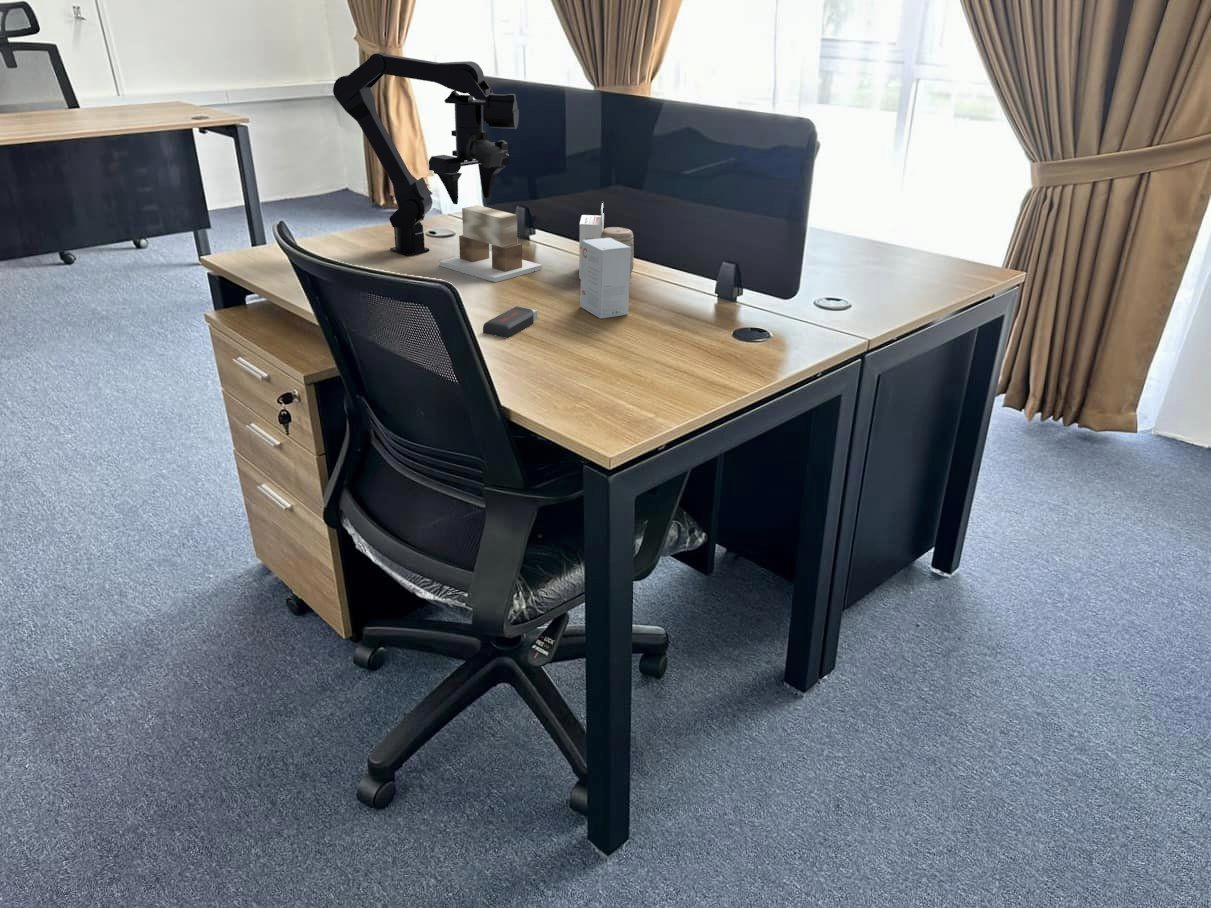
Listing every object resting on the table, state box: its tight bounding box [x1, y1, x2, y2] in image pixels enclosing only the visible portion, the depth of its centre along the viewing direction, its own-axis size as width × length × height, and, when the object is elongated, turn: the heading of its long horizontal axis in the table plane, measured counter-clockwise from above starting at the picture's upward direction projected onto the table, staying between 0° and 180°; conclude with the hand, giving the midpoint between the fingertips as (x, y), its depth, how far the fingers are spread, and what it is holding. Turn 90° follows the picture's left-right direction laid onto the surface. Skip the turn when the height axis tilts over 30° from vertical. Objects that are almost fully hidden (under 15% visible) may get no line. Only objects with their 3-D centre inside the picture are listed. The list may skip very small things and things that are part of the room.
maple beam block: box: [461, 205, 518, 247], centre depth 199 cm, size 12×4×6 cm, turn 49°
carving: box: [601, 226, 635, 286], centre depth 190 cm, size 6×8×12 cm
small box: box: [579, 238, 631, 319], centre depth 176 cm, size 8×6×13 cm
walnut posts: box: [458, 234, 523, 272], centre depth 201 cm, size 14×5×5 cm, turn 50°
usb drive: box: [482, 306, 538, 339], centre depth 169 cm, size 5×12×3 cm, turn 154°
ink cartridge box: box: [578, 202, 605, 280], centre depth 198 cm, size 9×5×15 cm, turn 179°
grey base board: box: [439, 250, 543, 283], centre depth 202 cm, size 17×14×1 cm
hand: (471, 201), depth 206 cm, fingers open, 9 cm apart
